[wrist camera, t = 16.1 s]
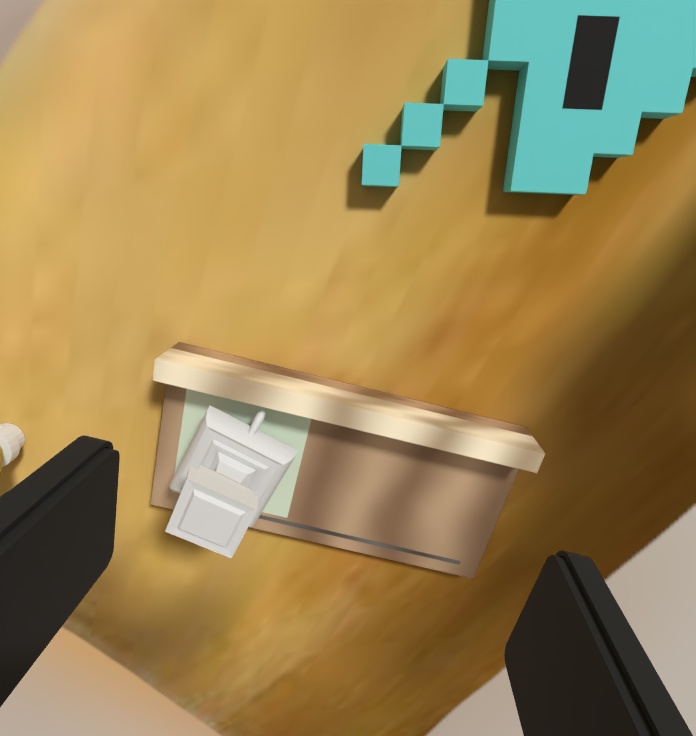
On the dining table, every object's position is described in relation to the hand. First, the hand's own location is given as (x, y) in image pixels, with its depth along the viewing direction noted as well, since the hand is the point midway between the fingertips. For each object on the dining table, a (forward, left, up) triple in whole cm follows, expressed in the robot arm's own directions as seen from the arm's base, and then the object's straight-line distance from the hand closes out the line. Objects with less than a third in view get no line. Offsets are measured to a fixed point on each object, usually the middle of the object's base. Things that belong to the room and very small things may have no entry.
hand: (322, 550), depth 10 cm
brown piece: (-1, +12, -24) cm, 26 cm away
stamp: (+5, +11, -22) cm, 26 cm away
